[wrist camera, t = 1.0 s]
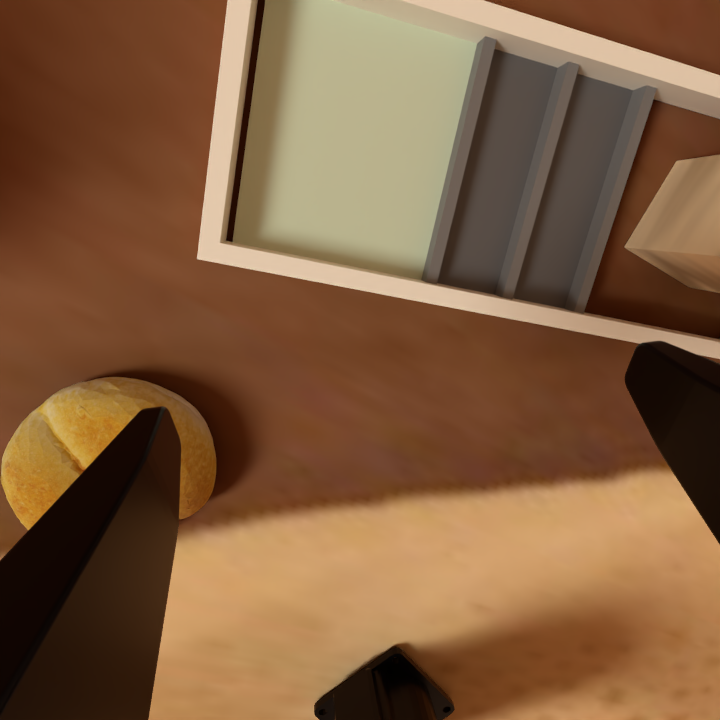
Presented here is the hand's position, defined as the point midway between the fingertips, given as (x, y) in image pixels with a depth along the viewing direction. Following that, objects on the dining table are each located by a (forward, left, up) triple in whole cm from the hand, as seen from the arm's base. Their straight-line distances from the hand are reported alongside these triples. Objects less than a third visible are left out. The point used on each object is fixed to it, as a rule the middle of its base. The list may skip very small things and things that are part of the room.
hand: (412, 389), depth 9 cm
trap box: (-2, -10, -14) cm, 17 cm away
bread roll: (0, +14, -15) cm, 20 cm away
